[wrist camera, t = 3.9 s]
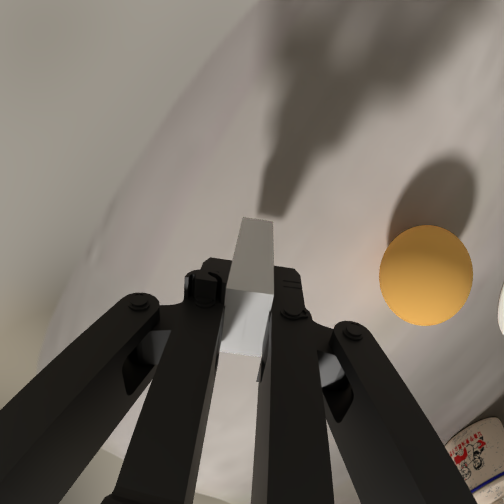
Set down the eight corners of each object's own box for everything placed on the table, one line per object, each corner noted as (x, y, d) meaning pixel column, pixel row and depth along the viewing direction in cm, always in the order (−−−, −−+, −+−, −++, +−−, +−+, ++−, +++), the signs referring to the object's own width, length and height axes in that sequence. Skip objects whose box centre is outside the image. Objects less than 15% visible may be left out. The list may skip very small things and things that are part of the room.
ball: (457, 220, 17) (505, 260, 12) (429, 295, 20) (462, 347, 15) (382, 203, 17) (420, 242, 12) (357, 286, 20) (380, 344, 15)
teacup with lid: (470, 415, 26) (502, 497, 16) (512, 412, 27) (543, 480, 16) (414, 469, 31) (429, 540, 21) (458, 463, 32) (477, 525, 21)
